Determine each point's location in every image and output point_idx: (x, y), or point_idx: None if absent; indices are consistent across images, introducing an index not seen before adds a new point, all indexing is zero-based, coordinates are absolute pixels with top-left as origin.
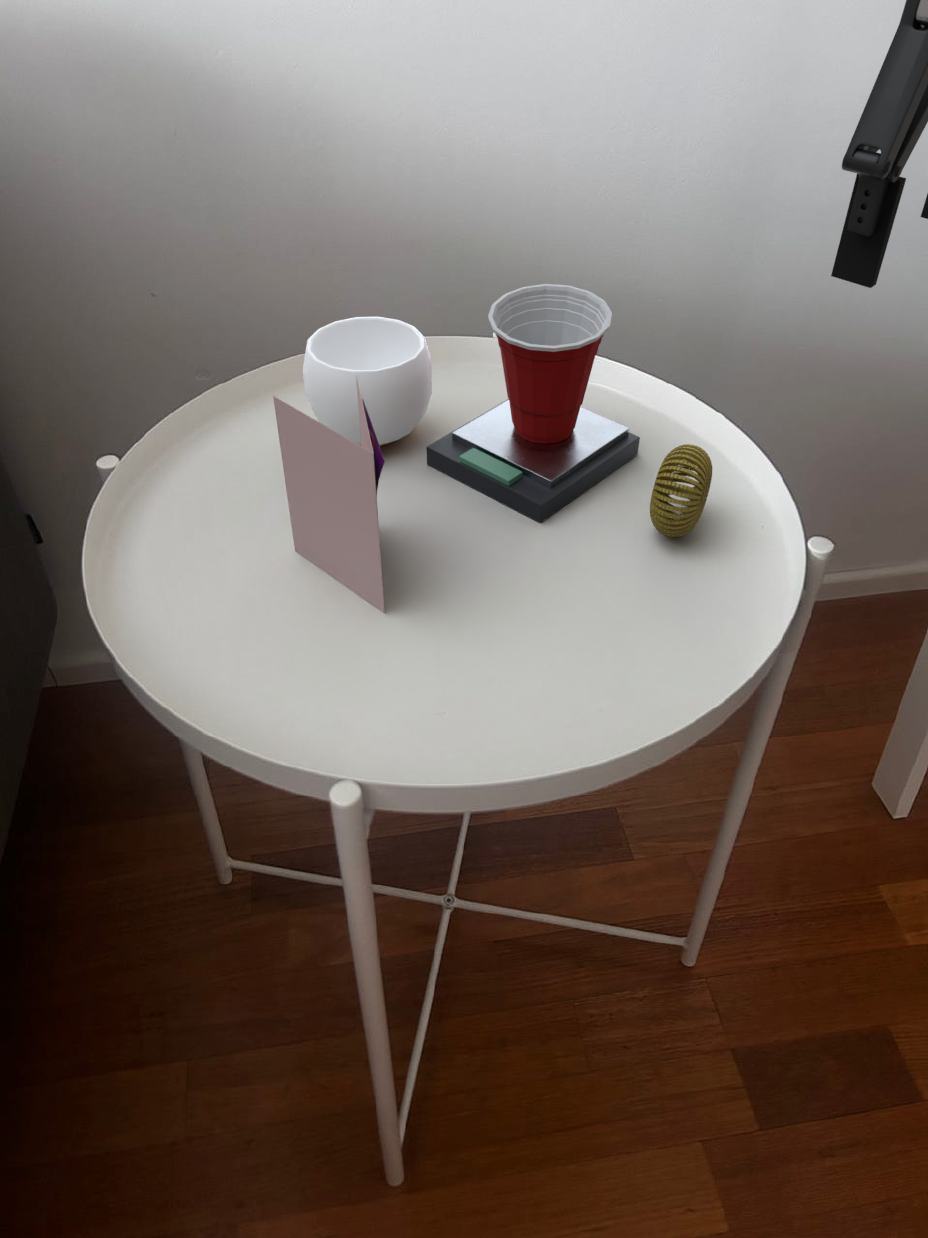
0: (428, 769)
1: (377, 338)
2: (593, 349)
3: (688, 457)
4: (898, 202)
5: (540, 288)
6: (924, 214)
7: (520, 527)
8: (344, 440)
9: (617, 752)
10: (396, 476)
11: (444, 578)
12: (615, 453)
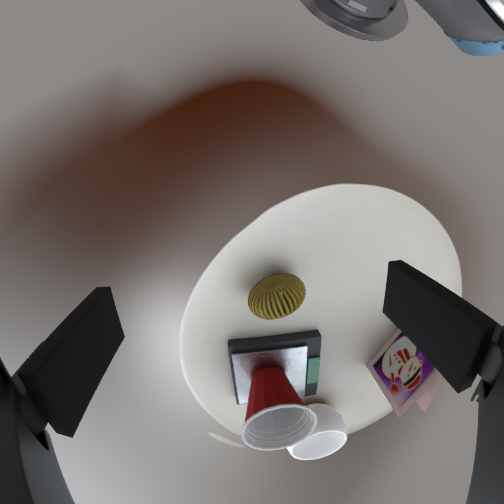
0: (448, 248)
1: (293, 449)
2: (274, 401)
3: (286, 305)
4: (461, 308)
5: (257, 446)
6: (122, 335)
7: (326, 333)
8: (440, 379)
9: (413, 202)
10: (329, 386)
11: (375, 324)
12: (252, 345)
